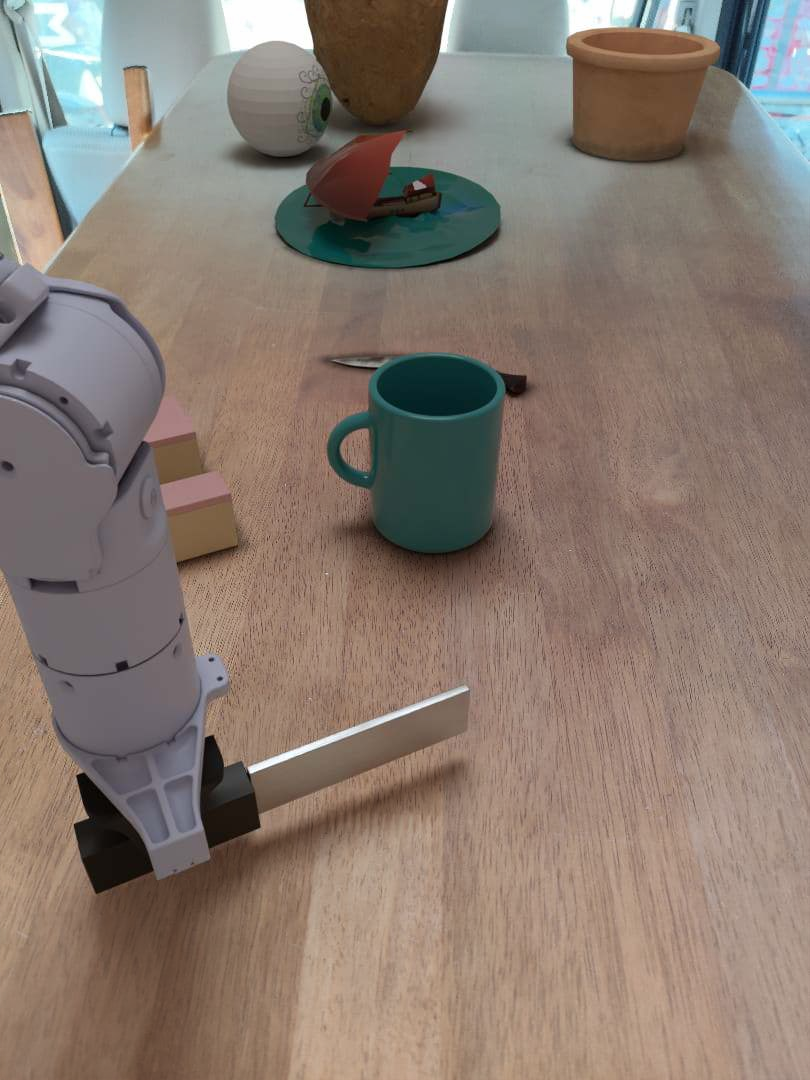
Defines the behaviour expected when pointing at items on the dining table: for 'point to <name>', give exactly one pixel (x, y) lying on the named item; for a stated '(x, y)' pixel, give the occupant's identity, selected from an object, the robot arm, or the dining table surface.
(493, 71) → the dining table surface
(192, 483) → the cake slice
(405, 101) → the brown rounded tapered piece
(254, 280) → the dining table surface
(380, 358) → the knife
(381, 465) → the cup
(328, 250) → the sailing ship model
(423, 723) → the cake knife
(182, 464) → the cake
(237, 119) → the decorative object
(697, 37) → the pottery
